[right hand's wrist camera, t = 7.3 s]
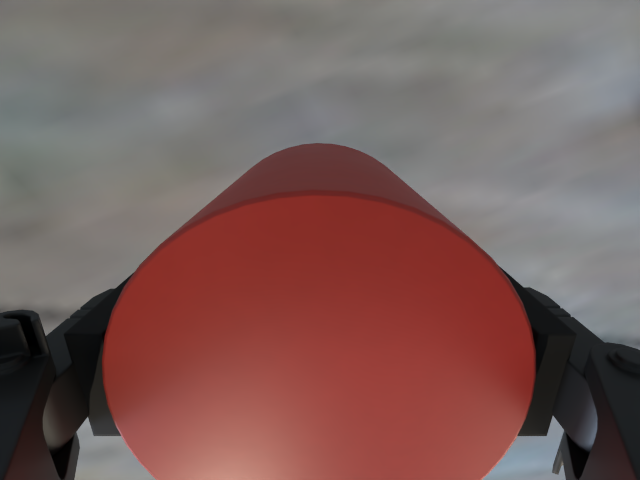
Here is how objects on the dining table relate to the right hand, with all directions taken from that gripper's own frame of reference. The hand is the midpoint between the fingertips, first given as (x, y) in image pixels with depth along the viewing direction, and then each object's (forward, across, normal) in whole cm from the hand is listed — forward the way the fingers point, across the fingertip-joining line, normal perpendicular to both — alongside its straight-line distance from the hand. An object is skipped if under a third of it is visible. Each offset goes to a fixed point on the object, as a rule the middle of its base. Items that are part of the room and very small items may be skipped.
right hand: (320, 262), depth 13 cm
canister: (+2, 0, 0) cm, 2 cm away
